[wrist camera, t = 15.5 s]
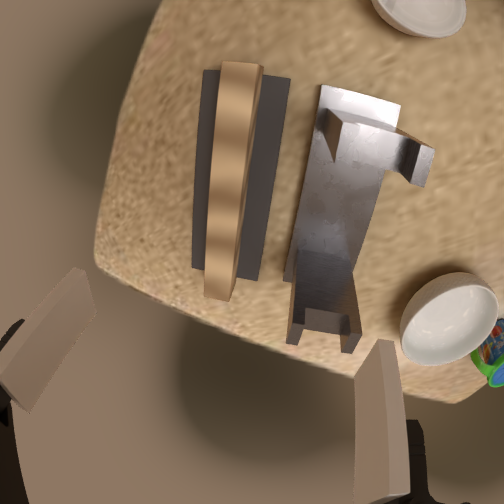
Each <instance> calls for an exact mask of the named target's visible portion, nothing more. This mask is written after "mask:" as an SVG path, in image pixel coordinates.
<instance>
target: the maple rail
mask: <svg viewBox="0 0 504 504" xmlns="http://www.w3.org/2000/svg"><path fill="white" fill-rule="evenodd" d="M263 68H264V67H263V66H261V65H259V64H253V63H243V62H231V61H222V67H221V75H220V83H219V92H218V101H217V110H216V120H215V130H214V141H213V152H212V163H211V176H210V189H209V203H208V219H207V235H206V254H205V277H204V297H208V298H213V299H217V300H222V301H227V302H229V301H230V298H231V295H232V292H233V289H234V286H235V283H236V275H237V267H238V259H239V251H240V242H241V234H242V226H243V218H244V210H245V202H246V195H247V187H248V179H249V171H250V164H251V156H252V148H253V141H254V134H255V126H256V119H257V111H258V104H259V97H260V90H261V83H262V76H263Z"/></svg>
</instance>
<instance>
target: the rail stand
mask: <svg viewBox="0 0 504 504" xmlns="http://www.w3.org/2000/svg"><path fill="white" fill-rule="evenodd" d="M400 107H401V105H398V104H395V103H391V102H388V101H385V100H382V99H378V98H375V97H371V96H368V95H364V94H360V93H356V92H353V91H349V90H344V89H340V88H336V87H331V86H327V85H321V89H320V95H319V101H318V107H317V112H316V118H315V123H314V129H313V134H312V140H311V145H310V150H309V155H308V160H307V166H306V171H305V176H304V181H303V186H302V191H301V195H300V200H299V205H298V210H297V215H296V219H295V224H294V229H293V233H292V238H291V242H290V247H289V252H288V256H287V260H286V265H285V269H284V274H283V281H286V282H291V283H292V288H291V298H290V308H289V318H288V327H287V337H286V344H292V345H298V343H299V340H300V337H301V334H302V331H303V329H307V330H313V331H319V332H325V333H331V334H338V335H340V343H341V352H342V353H350V354H352V353H353V351H354V349H355V347H356V345H357V343H358V342H359V340H360V338H361V336H362V328H361V321H360V315H359V308H358V302H357V296H356V290H355V285H354V279H353V274H352V272H353V269H354V267H355V264H356V261H357V258H358V255H359V253H360V250H361V247H362V244H363V241H364V238H365V235H366V232H367V229H368V226H369V223H370V220H371V217H372V213H373V210H374V207H375V204H376V200H377V197H378V194H379V190H380V187H381V183H382V180H383V176H384V173H385V169H387V170H391V171H394V172H398V173H401V174H402V175H403V176H404V177H405V178H406V180H407V181H408V182H409V183H410V184H414V185H417V186H420V187H424V186H425V183H426V180H427V177H428V173H429V170H430V167H431V163H432V160H433V156H434V152H435V149H434V148H432V147H430V146H429V145H427V144H425V143H423V142H422V141H420V140H418V139H416V138H414V137H413V136H411V135H409V134H407V133H405V132H403V131H402V130H400V129H398V128H396V125H397V120H398V116H399V111H400Z"/></svg>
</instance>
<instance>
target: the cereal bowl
mask: <svg viewBox="0 0 504 504" xmlns="http://www.w3.org/2000/svg"><path fill="white" fill-rule="evenodd" d="M498 313H499V304H498V300H497V297H496V295H495V293H494V292H493V290H492V289H491V288H490V286H489V285H488V284H487V283H486V282H485V281H484V280H482V279H481V278H479V277H478V276H475V275H474V274H470V273H463V272H456V273H449V274H446V275H442V276H439V277H437V278H435V279H433V280H432V281H430V282H428V283H427V284H425V285H424V286H423V287H422V288H420V289H419V291H417V292H416V293H415V295H413V297H412V298H411V299H410V301H409V303H408V304H407V306H406V308H405V310H404V312H403V315H402V318H401V322H400V342H401V347H402V351H403V353H404V354H405V356H406V357H407V358H408V359H409V360H411V361H412V362H414V363H416V364H419V365H423V366H439V365H444V364H448V363H451V362H454V361H456V360H459V359H461V358H463V357H464V356H466V355H468V354H469V353H471V352H472V351H473V350H475V349H476V348H477V347H478V346H480V345H481V344H482V342H483V341H484V340H485V339H486V338H487V337H488V336H489V334H490V333H491V331H492V329H493V328H494V326H495V323H496V321H497V318H498Z"/></svg>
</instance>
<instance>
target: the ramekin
mask: <svg viewBox="0 0 504 504" xmlns="http://www.w3.org/2000/svg"><path fill="white" fill-rule="evenodd" d="M371 1H372V4H373V6H374V8H375V10H376V11H377V13H378V14H379V15H380V16H381V17H382V18H383V19H384V20H385V21H386V22H387V23H388V24H389V25H391V26H392V27H394V28H395V29H397V30H399V31H401V32H403V33H405V34H409V35H414V36H421V37H425V38H432V39H439V38H445V37H449V36H451V35H453V34H455V33H457V32H458V31H459V30H460V29H461V27H462V26H463V24H464V22H465V19H466V3H465V0H371Z"/></svg>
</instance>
